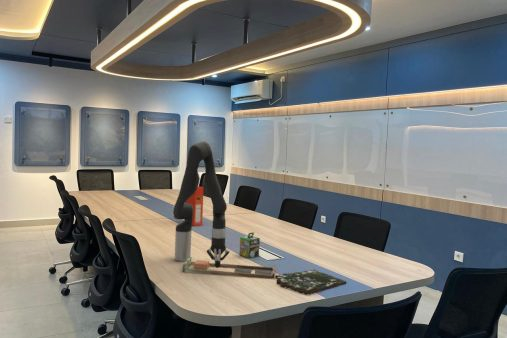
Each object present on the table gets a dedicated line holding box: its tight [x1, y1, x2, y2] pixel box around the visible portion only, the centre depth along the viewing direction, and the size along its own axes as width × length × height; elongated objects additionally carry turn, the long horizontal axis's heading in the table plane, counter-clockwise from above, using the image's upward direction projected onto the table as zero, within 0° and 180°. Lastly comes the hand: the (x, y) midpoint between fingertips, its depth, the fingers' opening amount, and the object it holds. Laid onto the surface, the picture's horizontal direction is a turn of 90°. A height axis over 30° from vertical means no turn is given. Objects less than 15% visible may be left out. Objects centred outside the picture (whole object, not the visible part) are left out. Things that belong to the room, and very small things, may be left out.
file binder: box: [185, 185, 204, 227], centre depth 335 cm, size 8×17×32 cm, turn 36°
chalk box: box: [239, 232, 261, 259], centre depth 249 cm, size 9×9×15 cm
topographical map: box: [274, 269, 347, 296], centre depth 206 cm, size 26×33×3 cm
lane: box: [182, 256, 276, 279], centre depth 217 cm, size 14×49×4 cm, turn 86°
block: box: [193, 259, 210, 270], centre depth 219 cm, size 7×7×4 cm
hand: (217, 267), depth 217 cm, fingers closed
